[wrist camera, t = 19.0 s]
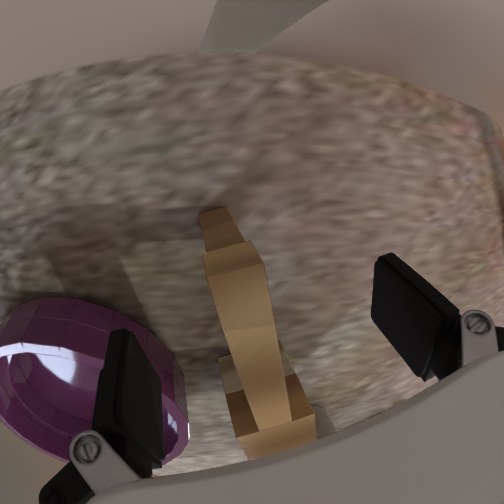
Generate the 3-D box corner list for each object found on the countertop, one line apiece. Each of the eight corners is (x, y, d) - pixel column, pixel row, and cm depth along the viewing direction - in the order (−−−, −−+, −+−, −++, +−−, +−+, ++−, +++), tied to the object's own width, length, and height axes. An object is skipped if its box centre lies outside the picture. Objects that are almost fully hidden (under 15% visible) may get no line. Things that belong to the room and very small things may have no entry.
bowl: (-29, 315, 14) (-56, 356, 10) (135, 264, 16) (124, 317, 12) (67, 432, 22) (62, 471, 17) (207, 413, 24) (216, 459, 19)
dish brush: (169, 221, 16) (166, 289, 10) (254, 198, 16) (302, 251, 10) (230, 391, 23) (250, 462, 17) (286, 374, 23) (316, 441, 17)
